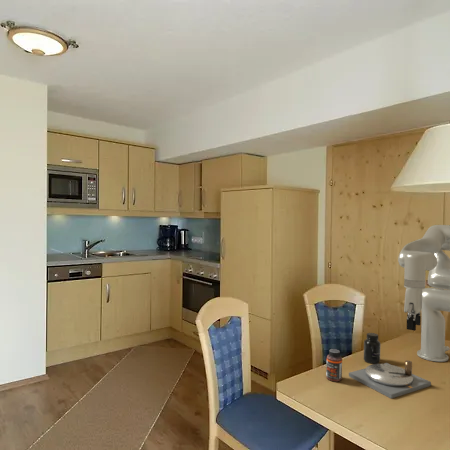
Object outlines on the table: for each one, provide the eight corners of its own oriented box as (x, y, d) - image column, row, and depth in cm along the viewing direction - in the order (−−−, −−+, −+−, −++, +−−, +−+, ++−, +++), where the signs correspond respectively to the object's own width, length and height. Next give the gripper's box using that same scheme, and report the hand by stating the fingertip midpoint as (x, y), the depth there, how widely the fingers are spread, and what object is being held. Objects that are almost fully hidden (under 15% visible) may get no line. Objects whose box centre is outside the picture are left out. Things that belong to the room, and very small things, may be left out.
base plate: (386, 366, 158) (386, 362, 158) (430, 385, 140) (430, 381, 140) (348, 376, 148) (348, 372, 148) (391, 398, 130) (391, 394, 130)
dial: (369, 383, 138) (369, 366, 138) (362, 365, 154) (363, 350, 154) (418, 388, 134) (419, 371, 134) (406, 369, 150) (407, 354, 150)
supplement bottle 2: (377, 365, 159) (378, 337, 159) (361, 361, 163) (362, 334, 163) (381, 360, 164) (382, 333, 164) (366, 356, 169) (366, 330, 168)
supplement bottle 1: (324, 380, 145) (325, 351, 144) (327, 374, 150) (328, 346, 149) (340, 383, 142) (340, 354, 141) (343, 377, 147) (343, 349, 147)
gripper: (409, 280, 156) (408, 320, 156) (399, 286, 142) (398, 330, 143) (429, 282, 151) (428, 324, 152) (420, 288, 138) (419, 334, 138)
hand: (413, 327), depth 147 cm, fingers open, 8 cm apart
